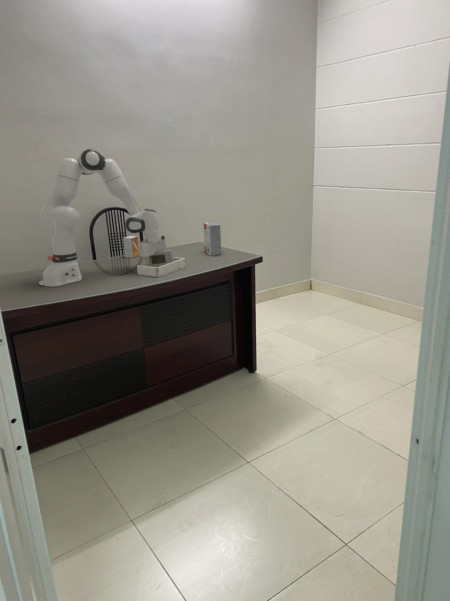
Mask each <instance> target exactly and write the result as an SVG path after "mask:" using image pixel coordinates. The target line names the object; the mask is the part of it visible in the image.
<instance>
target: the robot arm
mask: <svg viewBox="0 0 450 601" xmlns="http://www.w3.org/2000/svg"><path fill="white" fill-rule="evenodd" d="M95 173H97V174H98V175H99V176H100V177H101V179H102V181H103V183H104V186H105V188H106V189H107V191H108V192H109V193H110V195H112V196H113V197H116V198H117V199H119V200H120V201H121V202H122V203H123V205H124V207H125V208H126V211H127V213H128V214H129V217H127V219H126V220H125V224H124V225H125V229H126V230H127V231H128V233H131V234H139V233H143V240H141V241H140V243H139V245H138V247H139V256H138V257H140V258H143V259H144V260H145V263H148V264H150V261H149V259H148V258H149V256H152V255H154V254H155V252H156V251H162V250H167V243H166V235H163V234H160V230H159V226H160V223H159V222H160V221H159V216H158V213H157V210H154V209H151V208H143V209H142V210H140V208H139V206H138V205H137V202H136V200H135V199H134V197H133V195H132V193H131V191H130V188H129V185H128V182H127V181H126V178H125V176H124V174H123V171H122V170H121V168H120V166H119V165H118V164H117V162H116V160H114V159H113V158H105V157H104V156H103V155H102V154H101V153H100V152H99V151H97V150H95V149H93V148H88V149H84V150H83V152H82V153H80V155H79V156H78V157H77V158H72V157H65V158H63V159H62V161H61V162H60V165H59V167H58V171H57V174H56V177H55V182H54V186H53V189H52V192H51V194H50V196H49V198H48V200H47V202H46V204H44V205H43V207H42V208H41V209H40V211H39V218H40V221H41V222H43V223H44V224H46V225H48V226H51V227H54V233H53V234H54V235H53V236H52V237H51V245H52V252H53V254H52V255H47V256H46V259H47V260H49V261H51V262H50V264H49V265H48V266H47V267H46V269H44V271H43V272H42V280H40V281H38V285H40V286H43V285H44V286H43V287H61V286H63V285H68V284H72V283H76V282H80V281H82V280H83V276H82V273H81V271H80V267H79V264H78V254H77V251H76V245H75V244H76V243H75V233H76V232H75V231H76V227H77V225H78V224H79V223H80V217H81V216H80V213H79V211H78V210H77V209H75V208H74V207H72V206H70V204H71V203H72V201H73V200H74V199H76V197H77V191H78V188H79V183H80V180H81V175H83V176H84V175H85V176H88V175H93V174H95Z"/></svg>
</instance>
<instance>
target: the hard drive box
mask: <svg viewBox="0 0 450 601" xmlns="http://www.w3.org/2000/svg"><path fill="white" fill-rule="evenodd" d="M202 223H203V238H204V239H203V243H204V252H205V253H206V254H208V255H209V256H210V255H214V256H220V255H219V254H221V255H222V244H221V242H222V241H221V240H222V239H221V236H222V235H221V224H219V223H217V222H215V221H204V222H202Z"/></svg>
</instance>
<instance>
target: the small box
mask: <svg viewBox="0 0 450 601" xmlns="http://www.w3.org/2000/svg"><path fill="white" fill-rule="evenodd" d="M122 240H123V249H124V258H127V259H134V258H137V257H140V256H139V238H138V235H129V236H125V237H123V238H122Z"/></svg>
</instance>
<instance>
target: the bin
mask: <svg viewBox="0 0 450 601" xmlns="http://www.w3.org/2000/svg"><path fill="white" fill-rule="evenodd" d="M173 259H174V262H172V263H169V264H166V265H163V266H160V267H148V266H147V265H139V264H138V265H137V266H136V267H137V268H136V269H137V275H138V276H146V277H153V278H160V277H163V276H166V275H168V274H171V273H173V272H176V271H178V269H179V270H180V269H183V268H186V267H187V258H185V257H176V256H173Z"/></svg>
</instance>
